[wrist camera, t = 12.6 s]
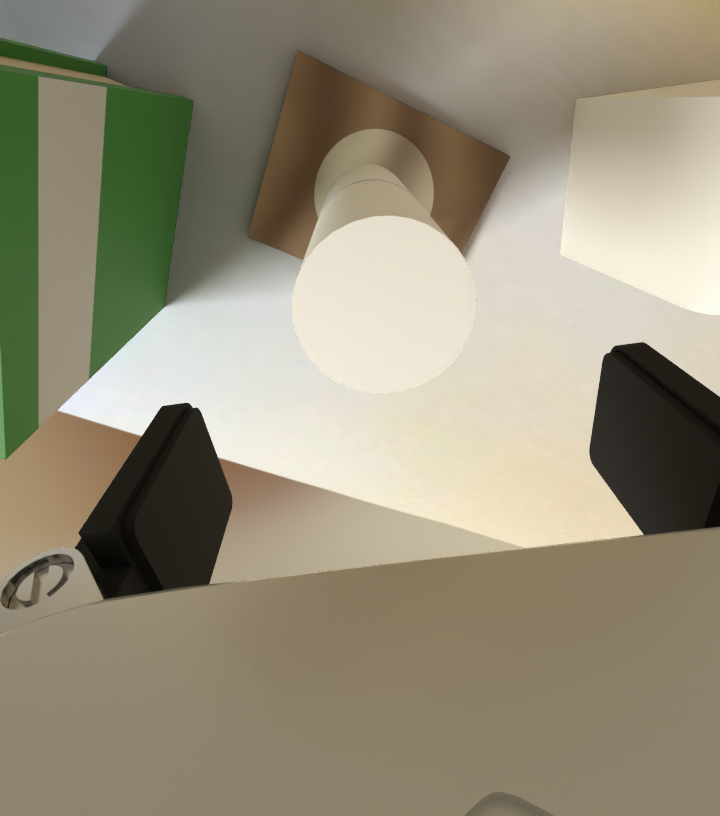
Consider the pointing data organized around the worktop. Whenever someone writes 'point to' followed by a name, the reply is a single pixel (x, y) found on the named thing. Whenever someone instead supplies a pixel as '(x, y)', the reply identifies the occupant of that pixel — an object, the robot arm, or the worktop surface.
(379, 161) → the walnut board
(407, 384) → the cylindrical container
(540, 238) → the worktop surface
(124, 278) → the hardback book
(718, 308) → the milk
